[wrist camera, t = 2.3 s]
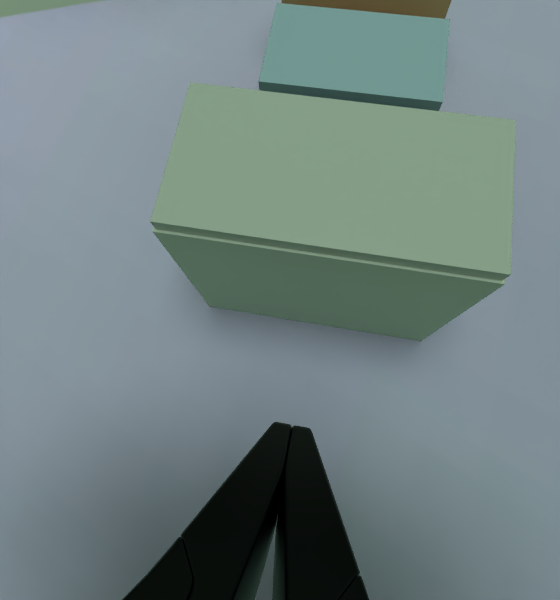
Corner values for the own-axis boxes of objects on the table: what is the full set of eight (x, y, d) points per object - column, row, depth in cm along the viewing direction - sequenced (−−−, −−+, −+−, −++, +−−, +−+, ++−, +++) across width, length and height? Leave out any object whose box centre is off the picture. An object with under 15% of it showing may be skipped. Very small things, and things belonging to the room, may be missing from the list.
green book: (420, 341, 23) (513, 277, 13) (209, 306, 24) (146, 223, 14) (429, 242, 25) (518, 117, 15) (231, 213, 26) (188, 79, 16)
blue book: (388, 223, 25) (442, 101, 16) (273, 207, 26) (258, 81, 16) (395, 163, 27) (450, 16, 17) (285, 149, 27) (277, -1, 18)
